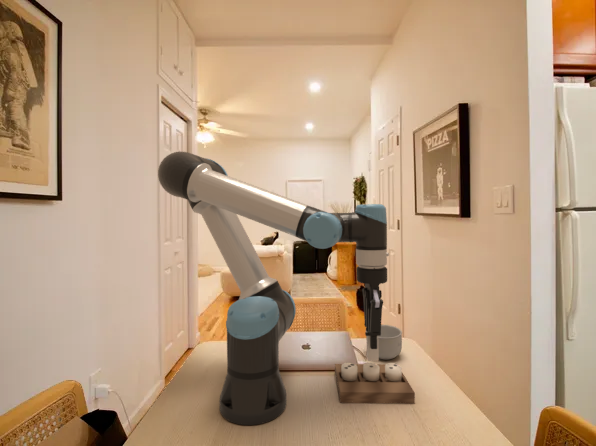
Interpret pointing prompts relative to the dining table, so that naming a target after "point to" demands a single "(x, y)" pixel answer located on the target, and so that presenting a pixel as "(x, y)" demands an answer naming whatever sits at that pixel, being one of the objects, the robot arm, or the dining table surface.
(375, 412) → the dining table surface
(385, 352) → the teacup
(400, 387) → the panel
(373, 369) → the button one
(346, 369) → the button three
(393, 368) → the button two
